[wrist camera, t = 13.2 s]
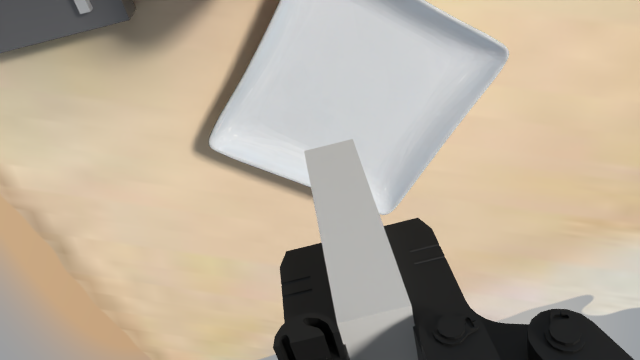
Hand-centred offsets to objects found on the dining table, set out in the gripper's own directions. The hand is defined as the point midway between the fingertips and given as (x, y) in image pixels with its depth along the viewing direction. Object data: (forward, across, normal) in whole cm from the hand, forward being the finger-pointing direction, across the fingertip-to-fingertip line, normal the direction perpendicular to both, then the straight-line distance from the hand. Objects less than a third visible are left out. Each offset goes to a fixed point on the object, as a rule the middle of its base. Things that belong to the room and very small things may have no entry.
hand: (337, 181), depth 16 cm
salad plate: (+33, +4, -13) cm, 36 cm away
